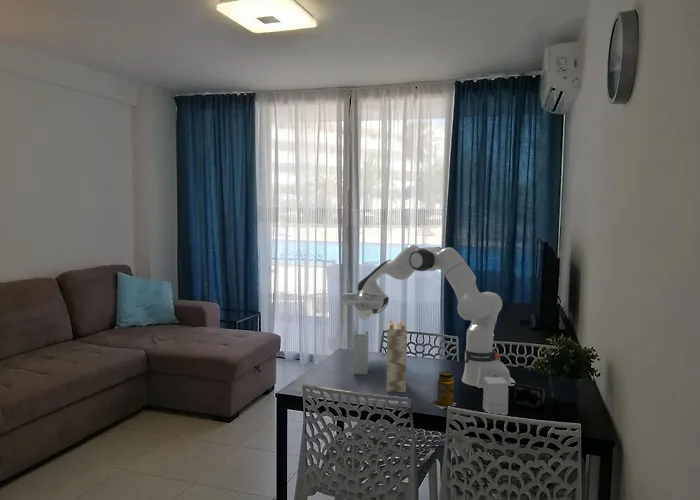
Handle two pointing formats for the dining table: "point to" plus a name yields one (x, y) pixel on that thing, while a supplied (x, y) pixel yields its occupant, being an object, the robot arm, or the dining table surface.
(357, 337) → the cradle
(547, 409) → the dining table surface
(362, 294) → the axle
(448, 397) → the condiment
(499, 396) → the supplement box
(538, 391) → the end cap
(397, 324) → the block
